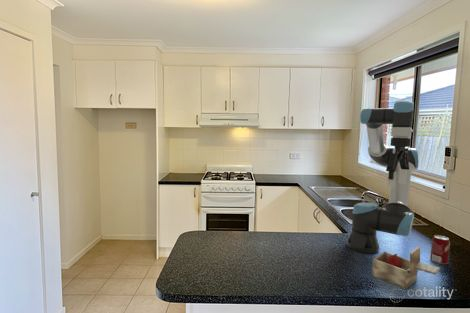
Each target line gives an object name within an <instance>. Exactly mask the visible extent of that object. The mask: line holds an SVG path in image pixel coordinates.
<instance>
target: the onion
mask: <svg viewBox="0 0 470 313" xmlns="http://www.w3.org/2000/svg"><path fill="white" fill-rule="evenodd" d="M397 256H398V254H397V253H394V254H393V255H392V256H389V257H388V258H387V259H386V263H387V264H390V265H393V266H396V267H398V268H401V266H402V264H401V261H400V259H399V258H398V257H397Z"/></svg>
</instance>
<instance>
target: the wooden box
mask: <svg viewBox="0 0 470 313" xmlns="http://www.w3.org/2000/svg"><path fill="white" fill-rule="evenodd" d="M392 255H394V254H392V253H389V252H388V251H387V252H386V251H384V252H382V253H380V254H379V255H377V256H376V257H374V258H373V259H372V266H371V267H372V268H371V276H372V277H374V278H377V279H379V280H382V281H384V282H387V283H390V284H391V285H394V286H397V287H400V288H402V289H404V288H405V289H404V290H408V289H409V288H410V287H411V286H412V285H413V284H414V283H415V282H416V281H417V280H418V272H419V270H416V269H414V270H413V271H412V272H411V271H410V259H408V258H405V257H402V256H398V255H397V257H398V258H399V259H400V261H401V264H402V266H401V268H398V267H396V266H393V265H390V264H387V263H386V259H387V258H388V257H389V256H392ZM413 282H414V283H413ZM412 283H413V284H412ZM411 284H412V285H411ZM409 286H410V287H409ZM408 287H409V288H408ZM407 288H408V289H407Z"/></svg>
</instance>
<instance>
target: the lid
mask: <svg viewBox="0 0 470 313" xmlns="http://www.w3.org/2000/svg"><path fill="white" fill-rule="evenodd" d="M409 260H410V271H411V272H412V271H413V270H414V269H416V270H418V271H421V272H424V273H429V274H432V275H437V274H438V272H439V271H441V267H439V266H434V265H430V264H426V263H424V262H423V263H422V262H421V247H420V246H417V247H416V248H415V249H414V250H412V251H411V252H410V253H409Z"/></svg>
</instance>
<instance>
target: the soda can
mask: <svg viewBox="0 0 470 313" xmlns="http://www.w3.org/2000/svg"><path fill="white" fill-rule="evenodd" d="M450 248H451V242H450V239H449V237H447V236H444V235H440V234H435V235H433V238H432V239H431V249H430V258H429V260H430V261H432V262H433V263H435V264H438V265H447V264H449V256H450V250H451V249H450Z"/></svg>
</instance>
